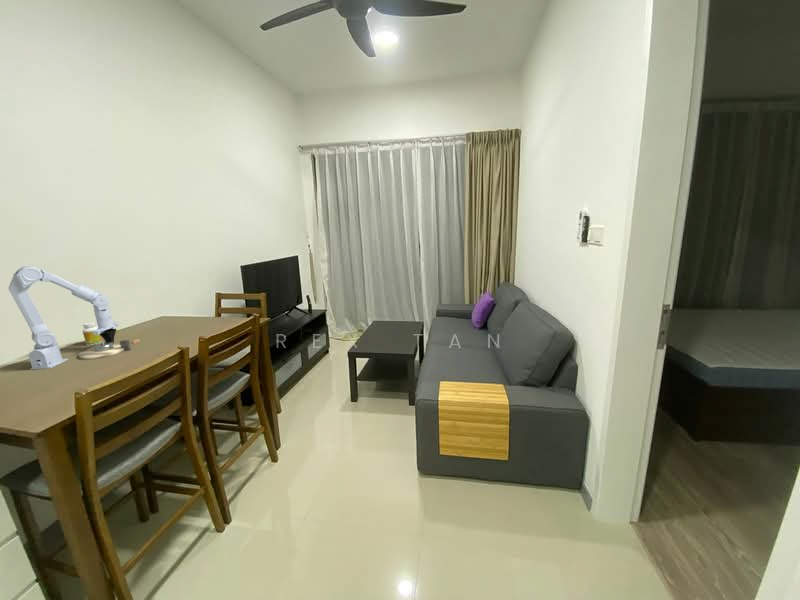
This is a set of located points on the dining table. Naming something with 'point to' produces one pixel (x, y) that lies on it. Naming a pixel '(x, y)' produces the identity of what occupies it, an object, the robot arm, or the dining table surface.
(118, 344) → the turntable
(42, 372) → the dining table surface
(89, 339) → the supplement bottle
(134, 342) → the peach rectangular brick
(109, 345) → the cover
